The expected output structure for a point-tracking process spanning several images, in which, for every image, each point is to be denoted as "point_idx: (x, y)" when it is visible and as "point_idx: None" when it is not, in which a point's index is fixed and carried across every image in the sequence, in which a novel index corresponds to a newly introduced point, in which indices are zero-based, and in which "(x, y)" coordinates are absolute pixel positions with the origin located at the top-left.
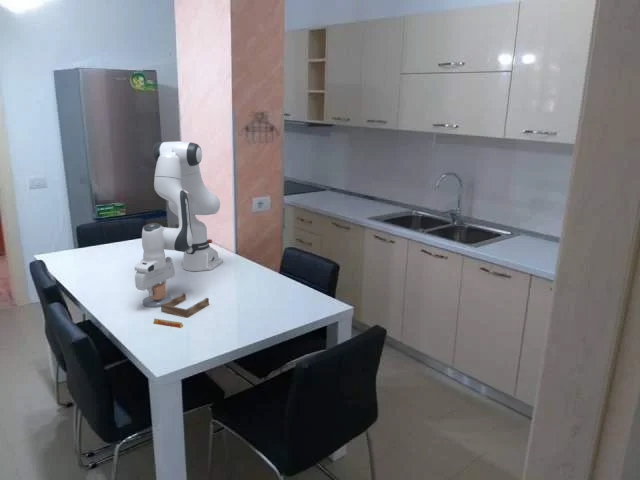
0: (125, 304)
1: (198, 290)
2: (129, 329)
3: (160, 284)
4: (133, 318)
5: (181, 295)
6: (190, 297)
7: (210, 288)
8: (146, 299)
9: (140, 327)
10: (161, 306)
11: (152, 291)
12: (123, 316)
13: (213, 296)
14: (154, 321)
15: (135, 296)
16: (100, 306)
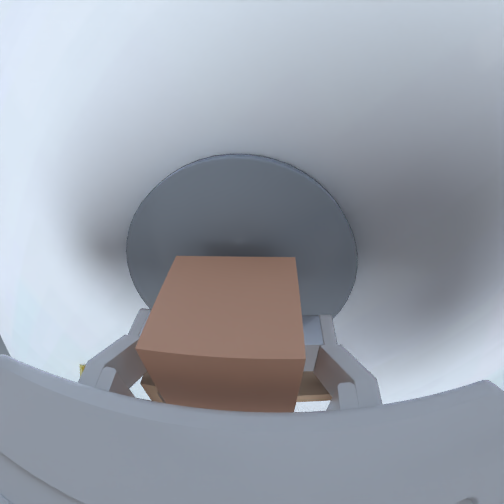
0: (70, 95)
1: (463, 335)
2: (15, 324)
3: (272, 405)
4: (35, 289)
5: (307, 400)
6: (375, 362)
7: (477, 352)
8: (189, 199)
9: (42, 344)
10: (143, 379)
11: (145, 368)
12: (10, 238)
13: (396, 400)
14: (81, 372)
15: (240, 7)
16: (3, 20)
